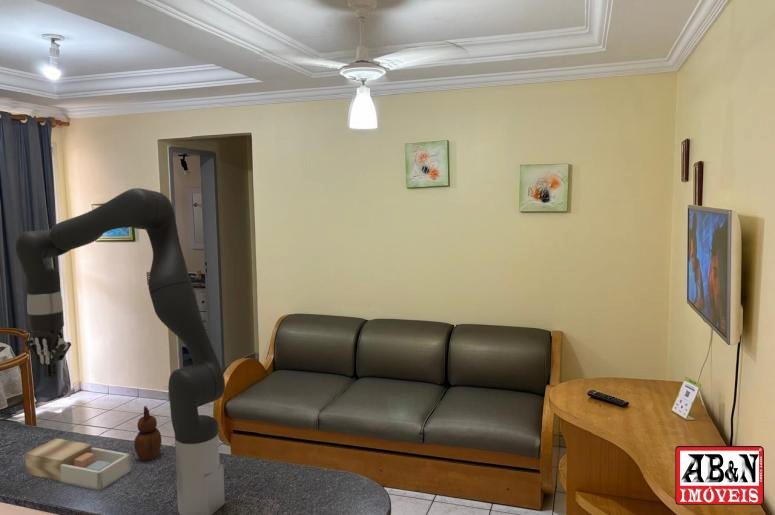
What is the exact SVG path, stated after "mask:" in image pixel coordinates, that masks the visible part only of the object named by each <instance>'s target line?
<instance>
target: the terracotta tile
mask: <svg viewBox="0 0 775 515" xmlns="http://www.w3.org/2000/svg"><path fill="white" fill-rule="evenodd" d="M93 463H95V454H92V453H88V452H87V453H85V454H83V455H81V456H79V457H77V458H76V459H74V466H77V467H82V468H86V467H88V466H90V465H91V464H93Z"/></svg>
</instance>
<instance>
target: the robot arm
mask: <svg viewBox="0 0 775 515" xmlns="http://www.w3.org/2000/svg"><path fill="white" fill-rule="evenodd" d="M123 228H124V229H125V228H133V229H136V230H137V229H138V230H145V231H146V233H147V236H148V238H149V242H150V246H151V248H152V262H151V267H150V270H149V275H148V282H147V285H148V287H147V288H148V292H149V295H150V299H151V303H152V305H153V309H154V313H155V315H156V316H157V318H158V320H160V321H161V323H163V325H164V326H166V327H167V328H168V329H169V330H170V331H171V332H172V333H173V334H174V335H175V336H176V337H177V338H179V339H180V341H181V342H182V343H183V344H184V346H185V347H186V349H187V351H188V353H189V356H190V357H191V360H192V363H193V364H191V365H187V366H183V367H180V368H177V369H174V371H172V372H171V374H170V376H169V379H168V389H167V390H168V399H169V407H170V419H171V424H172V428H173V432H174V445H175V446H174V447H175V448H174V449H175V451H174V452H175V469H176V470H175V475H176V489H177V490H176V491H177V492H176V494H177V510H178V514H179V515H213V514H215V513H216V512H217V511H218V510H219V509H220V508H221V507H222V506H224V504H225V477H224V476H225V475H224V464H222V463H220V441H219V439H220V438H219V423H218V420H217V419H216V418H215V417H213V416H210V415H206V414H205V415H204V414H199V410H198V408H199V407H201V406H204V405H207V404H210V403H212V402H215V401H218V400H219V399H221V398H222V397H223V396H224V394H225V389H226V382H225V376H224V373H223V370H222V369H223V368H222V367H221V365H220V361H219V359H218V357H217V354H216V352H215V349H214V348H213V345H212V343H211V339H210V337H209V335H208V332H207V330H206V327H205V323H204V321H203V317H202V314H201V311H200V308H199V304H198V299H197V295H196V293H195V289H194V286H193V283H192V279H191V278H190V274H189V271H188V267H187V264H186V260H185V257H184V253H183V250H182V247H181V243H180V238H179V231H178V226H177V222H176V216H175V211H174V208H173V204H172V202H171V200H170V199H169V197H168V196H167V195H165V194H164V193H162V192H159V191H155V190H149V189H145V188H139V187H138V188H137V187H135V188H134V187H133V188H131V189H128V190H125V191H123V192H122V193H119V194H118V195H116V196H115V197H113V198H112V199H110V200H108V201H107V202H104V203H103V204H101V205H99V206H97V207H95V208H94V209H92V210H90V211H87V212H85V213H82V214H80V215H77V216H74V217H71V218H68V219H66V220H63V221H60V222H58V223H56V224H54V225H53V226H52V227H51V228H49V229H41V230H28V231H23V232H22V233H20V234H19V235H18V236H17V239H16V242H15V253H16V255H17V258H18V261H19V263H20V265H21V268H22V271H23V273H24V275H25V278H26V282H25V283H26V292H27V293H26V294H27V297H26V308H27V309H26V310H27V311H26V312H27V324H28V330H29V331H30V332H32V333H31V337H30V338H29V339H27V340H25V342H24V344H25V345H26V347H27V349H28V351H29V352H30V353H31V356H32V357H33V358H34V360H35V361H36V362H38V361H39V362H40V363H41V364H42V371H43V377H44V378H45V379H53V378H56V376H57V374H58V370H57V367H58V366H57V363H58V362H60V361H62V360H63V359H64V358H65V356H66V354H67V353H68V351H69V350H70V347H71V346H72V343H71V342H70V341H65V339H64V335H63V333H62V329H63V327H64V326H65V318H64V305H63V303H64V302H63V297H62V291H61V282H60V279H61V278H60V272H59V271H58V269H56V268H55V267H54V268H53V267H47V266H46V263H45V261H44V259H50V258H52V259H53V258H57V257H59V256H62V255H64V254H67V253H68V252H70V251H71V250H75V249H77V248H81V247H83V246H87V245H89V244H91V243H94V242H96V241H97V240H99V239H100V238H101V237H102V236H103V235H104V234H106V233H107V232H109V231H113V230H117V229H123Z"/></svg>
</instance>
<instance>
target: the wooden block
mask: <svg viewBox="0 0 775 515" xmlns="http://www.w3.org/2000/svg"><path fill="white" fill-rule="evenodd" d="M91 448H93V447H92V444H90V443H83V442H80V441H79V442H78V441H72V440H68V439H62V438H54V439H52V440H50V441H47V442H45V443H43V444H42V445H39V446H37V447H35V448H34V449H31V450H28V451H27V452H25V453H24V454H25V455H24V456H25V459H24V461H25V471H26V475H31V476H35V477H40V478H43V477H44V479H49V480H54V481H57V482H58V481H59V482H61V469H60V465H62V464H66V465H72V466H74V459H76V458H77V457H79V456H81V455H83V454H85V453H87V452H88V453H91Z"/></svg>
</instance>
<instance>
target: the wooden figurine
mask: <svg viewBox="0 0 775 515" xmlns="http://www.w3.org/2000/svg"><path fill="white" fill-rule="evenodd" d="M157 422H158V421H157V418H156V416H154V415H151V414H150V409H149V408H148V407H147V405H145V406H143V416H142V417H140V418H139V419H138V421H137V430H138V433H137V434H136V436H135V438H134V450H135V453H136V455H137V456H138V458H139V459H140V460H142V461H149V460H150V461H151V460H152V459H155V458H156V457H157V456H158V455H159V453H160V450H161V448H162V434H161V432H160V430H159V429H158V428H157V425H158V424H157Z"/></svg>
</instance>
